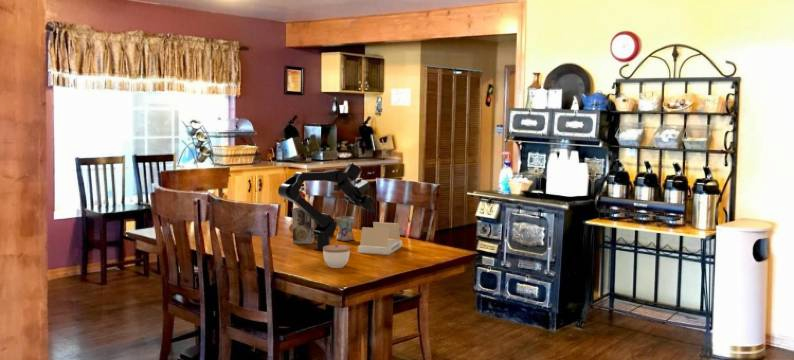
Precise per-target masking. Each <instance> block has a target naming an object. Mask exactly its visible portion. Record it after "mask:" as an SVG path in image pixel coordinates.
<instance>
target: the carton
mask: <svg viewBox="0 0 794 360" xmlns="http://www.w3.org/2000/svg"><path fill="white" fill-rule="evenodd" d="M402 246H403V241H402V239H388V240H387V247H377V246H363V245H358V246H357V253H359V254H367V255H368V254H369V255H383V256H384V255H386V256H390V255H391V254H392V253H394V252H396V251H398V250H400V249H401V248H402Z"/></svg>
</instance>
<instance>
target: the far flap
mask: <svg viewBox="0 0 794 360" xmlns="http://www.w3.org/2000/svg"><path fill="white" fill-rule="evenodd" d="M372 226H373V227H372V228H386V229H389V231H388V239H393V240H401V236H400V235H401V234H400V227H399V226H400V225H399V223H396V222H395V223H394V222H382V221H381V222H380V221H379V222H378V221H376V222H375V221H372Z"/></svg>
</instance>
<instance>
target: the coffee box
mask: <svg viewBox="0 0 794 360" xmlns="http://www.w3.org/2000/svg"><path fill="white" fill-rule="evenodd" d="M291 211H292V223H293V233H292V244H299V245H300V244H303V245H304V244H306V245H307V244H308V245H309V244H310V245H312V244H313V243H314V242H315V237H314V233H313V230H314V220H313V219H312V218H311V217H309V216H308V215H307V214H306V213H305V212H304V211H303V210H301V209H300V208H299V207H294V208H293V209H292V210H291Z"/></svg>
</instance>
